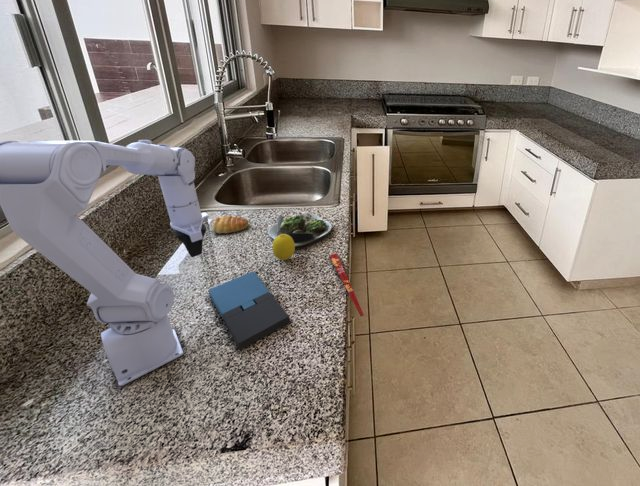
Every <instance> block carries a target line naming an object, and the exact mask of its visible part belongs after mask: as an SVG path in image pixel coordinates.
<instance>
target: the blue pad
mask: <svg viewBox="0 0 640 486" xmlns="http://www.w3.org/2000/svg"><path fill="white" fill-rule="evenodd" d="M268 292H270V290H269V289H268V287H267V286H266V285H265V284H264V282H263V281H262V279H260V277H259V276H258V275H257V273H255V271H254V270H252V271H250V272H247V273H245V274H243V275H240V276H238V277H236V278H233V279H231V280H228V281H226V282H224V283H221V284H219V285H216V286H214V287H212V288H209V289H208V293H209V297H210V298H211V301H212V302H213V304H214V306H215V307H216V309H217V311H218V313H219V315H220V316H221V318H222V319H223V317H222V314H224V313H226V312H228V311H230V310H232V309H234V308H236V307H238V306H240V308H241V309H242V311H244V310H246V309H248V308H250V307H252V306H254V305H256V304H255V302H254V299H255V298H257V297H259V296H262V295H264V294H266V293H268ZM270 293H271V292H270Z"/></svg>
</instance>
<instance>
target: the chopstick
mask: <svg viewBox="0 0 640 486" xmlns="http://www.w3.org/2000/svg"><path fill="white" fill-rule="evenodd" d="M329 258H330V260H331V262H332V264H333V266H334V268H335V270H336V272H337V274H338V276H339V278H340V280H341V281H342V284H343V286H344V287H345V289H346V292H347V293H348V295H349V297H350V298H351V301H352V303H353V305H354V306H355V308H356V311H357V312H358V314H359V316H360V317H364V312H363V310H362V307H361V306H360V302H359V301H358V298H357V297H356V293H355V292H354V289H353V287H352V284H351V282H350V280H349V278H348V276H347V273H346V271H345V269H344V267H343V264H342V262H341V259H340V258H339V254H338V253H334V254H330V255H329Z"/></svg>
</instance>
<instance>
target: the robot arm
mask: <svg viewBox="0 0 640 486" xmlns="http://www.w3.org/2000/svg"><path fill="white" fill-rule="evenodd" d="M107 166H113V167H114V166H116V167H119V166H120V167H122V168H123V169H124V170H125V171H126V172H128V173H130V174H132V175H146V176H153V177H156V176H157V179H158V183H159V185H160V189H161V193H162V197H163V199H164V203H165V207H166V211H167V215H168V216H169V221H170V222H169V225H170V228H171V229H172V232H173V234H174V236H175V238H176V239H177V240H179V241H180V242H181V243H182V244H183V245H184V247H185V249H186V251H187V253H188V254H189V256H190V258H194V257H199V256H200V255H202V254H203V241H204V236H205V234H206V232H207V227H206V225H204V220H206V219H208V218H209V213H207V211H205V212H202V211H201V206H200V202H199V198H198V194H197V190H196V185H195V182H194V180H196V173H195V168H196V157H195V156H194V154H193V153H192V152H191V151H190V150H188V149H187V148H186V147H170V146H169V144H168V143H158V144H153V143H152V140H149V139H138V141H136V142H135V141H134V142H131V143H129V144H127V145H126V146H123V145H118V144H113V143H108V142H102V141H97V140H34V141H33V140H31V141H17V140H3V141H0V207H1V210H2V212H3V215H4V216H5V218H6V219H5V220H6V221H7V223H8V226H9V227H10V229H11V231H12V232H13V233H14V234H15V235H16V236H17V237H18V238H20V239H21V240H23V241H24V242H25V243H26V244H28V245H29V246H30V247H32V248H33V249H34V250H36V252H38V253H39V254H41V255H42V256H43V257H44V258H45V259H47V260H49V262H51V263H52V264H53V265H55V266H56V267H57V268H58V269H60V270H61V271H62V272H63V273H65V274H66V275H67V276H69V277H70V278H71V279H73V280H74V281H75V282H76V283H77V284H79V285H80V286H82V287H83V288H84V289H85V290H87V291H88V293H90V294H89V297H88V299H87V302H86V305H87V307H89V308H90V309H91V310H92V312H93V317H94V318H95V320H96V321H97V322H98V323H101V324H108V326H109V328H107V329H106V330H104V331H102V332H101V333H100V338H101V342H102V347H103V349H104V353H105V356H106V358H107V360H108V364H109V367H110V369H111V370H112V373H113V374H114V377H115V378H116V379H115V380H117V385H118V386H119V387H123V386H125V385H127V384H129V383H131V382H133V381H134V380H137V379H139V378H140V377H143V376H144V375H146V374H148V373H150V372H152V371H154V370H156V369H158V368H160V367H162V366H164V365H166V364H168V363H171V361H174V360H175V359H178V358H180V357H182V356H183V355H184V351H183V348H182V346H181V342H180V340H179V338H178V335H177V332H176V330H175V329H174V328H173V326H172V325H171V322H170V321H171V320H170V318H169V315H168V314H169V313H170V311H171V310H172V307H173V305H174V300H175V297H174V296H175V293H174V290H173V288H172V286H171V285H170V284H168V283H162V282H160V281H159V280H158V279H157V278H154V277H150V276H147V275H144V274H139V273H136V272H135V271H134V270H133V269H132V268H131V267H130V266H129V265H128V264H127V263H126V262H125V261H124V260H123V259H122V258H121V257H120V256H119V255H118V254H117V253H116V252H115V251H114V250H113V249H112V248H111V247H110V246H109V245H108V244H106V242H105V241H104V240H103V239H102V238H100V237H99V235H97V233H95V232H94V231H93V229H91V227H89V226H88V225H87V223H86V222H84V221H83V220H82V219H81V218H80V216H78V214H80V213H81V212H83V211H85V210H87V208H88V205H89V203H90V201H91V198H92V197H93V193H94V191H95V189H96V186H97V183H98V182H99V179H100V176H101V173H105V172H106V171H107Z"/></svg>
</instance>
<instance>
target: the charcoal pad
mask: <svg viewBox="0 0 640 486" xmlns="http://www.w3.org/2000/svg"><path fill="white" fill-rule="evenodd" d="M254 302H255V304H256V305H254V306H252V307H250V308H248V309H246V310H244V311H242V309H241V308H240V306H238V307H236V308H234V309H232V310H230V311H228V312H226V313H224V314H222V316H221V318H222V317H223V318H222V320H223V322H224V324H225V326H226V328H227V330H228V331H229V333H230V335H231V337H232V338H233V340H234V342H235V344H236V346H237V347H238V349H239V351H241V350H244V349H245V348H247V347H249V346H251V345H252V344H254V343H257V342H258V341H259V340H261V339H263V338H264V337H267V336H268V335H270V334H272V333H274V332H276V331H277V330H279V329H281V328H283V327H285V326H286V325H288V324H290V322H291V321H290V316H289V314H287V312H286V311H285V310H284V308H283V307H282V305H281V304H280V303H279V302H278V300H277V299H276V298H275V297H274V295H273V294H272V293H271V292H268V293H266V294H264V295H262V296H259V297H257V298H255V299H254Z"/></svg>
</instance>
